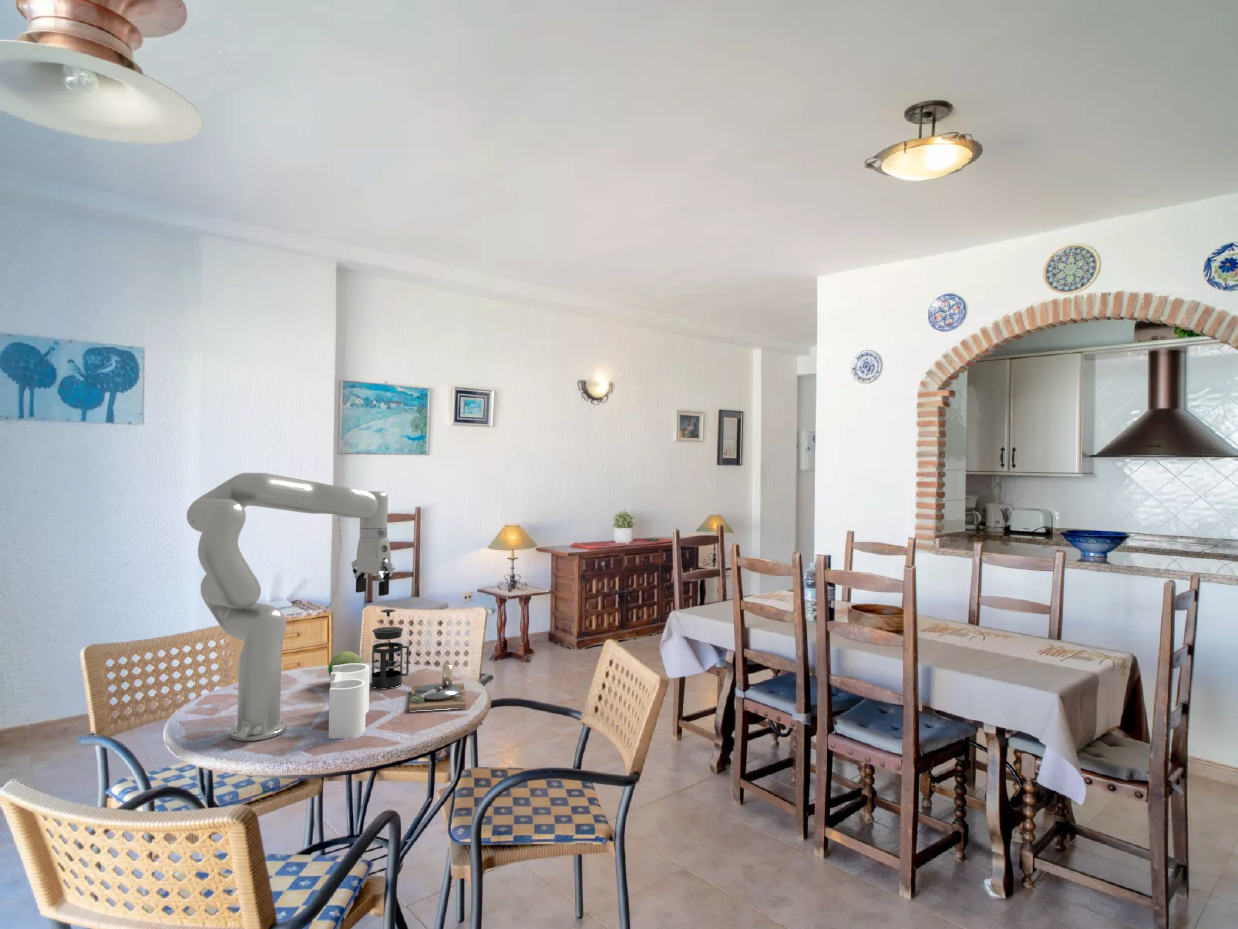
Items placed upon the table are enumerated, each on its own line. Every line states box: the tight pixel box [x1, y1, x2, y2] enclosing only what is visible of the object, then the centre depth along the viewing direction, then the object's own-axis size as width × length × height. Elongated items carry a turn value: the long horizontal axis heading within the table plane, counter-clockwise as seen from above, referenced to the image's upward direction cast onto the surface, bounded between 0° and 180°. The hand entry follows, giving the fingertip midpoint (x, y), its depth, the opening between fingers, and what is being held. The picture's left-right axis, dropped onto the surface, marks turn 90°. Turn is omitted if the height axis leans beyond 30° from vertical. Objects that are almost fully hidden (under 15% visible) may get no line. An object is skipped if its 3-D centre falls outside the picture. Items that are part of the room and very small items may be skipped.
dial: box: [415, 663, 461, 701], centre depth 202 cm, size 14×13×7 cm
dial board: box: [408, 682, 467, 712], centre depth 202 cm, size 20×15×2 cm
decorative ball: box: [327, 651, 363, 679], centre depth 216 cm, size 10×10×10 cm
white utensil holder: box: [328, 663, 370, 739], centre depth 184 cm, size 25×10×12 cm, turn 19°
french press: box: [370, 608, 410, 689], centre depth 217 cm, size 12×9×23 cm
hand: (372, 593), depth 203 cm, fingers open, 9 cm apart
